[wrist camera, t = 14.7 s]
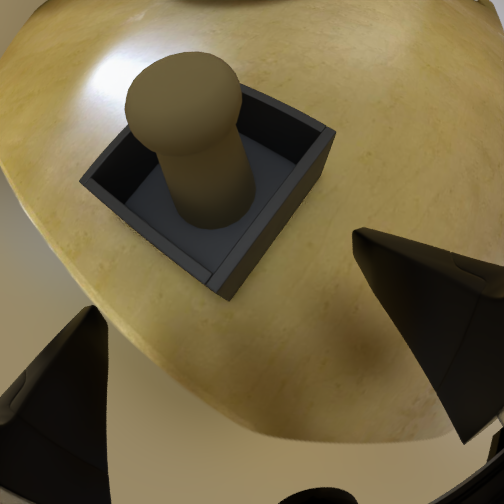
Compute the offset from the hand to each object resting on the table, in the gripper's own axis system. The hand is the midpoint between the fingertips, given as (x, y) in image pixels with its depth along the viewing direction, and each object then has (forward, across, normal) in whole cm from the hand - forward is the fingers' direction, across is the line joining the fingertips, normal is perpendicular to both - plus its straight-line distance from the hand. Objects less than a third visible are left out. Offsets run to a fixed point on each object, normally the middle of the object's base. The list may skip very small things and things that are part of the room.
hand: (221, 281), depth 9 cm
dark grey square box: (+13, 0, +1) cm, 13 cm away
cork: (+13, 0, +1) cm, 13 cm away
